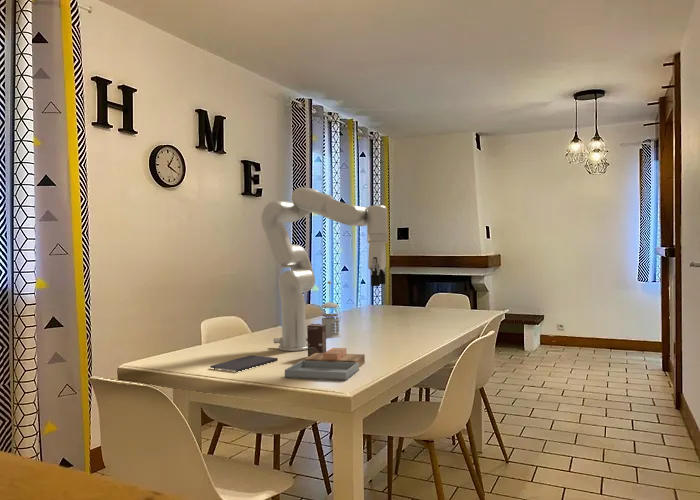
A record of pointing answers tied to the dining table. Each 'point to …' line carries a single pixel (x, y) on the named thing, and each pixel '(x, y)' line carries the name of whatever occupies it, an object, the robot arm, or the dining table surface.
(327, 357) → the tile
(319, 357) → the brown slab
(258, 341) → the dining table surface
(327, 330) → the french press
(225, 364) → the notebook
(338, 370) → the tray
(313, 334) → the box
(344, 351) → the tile
